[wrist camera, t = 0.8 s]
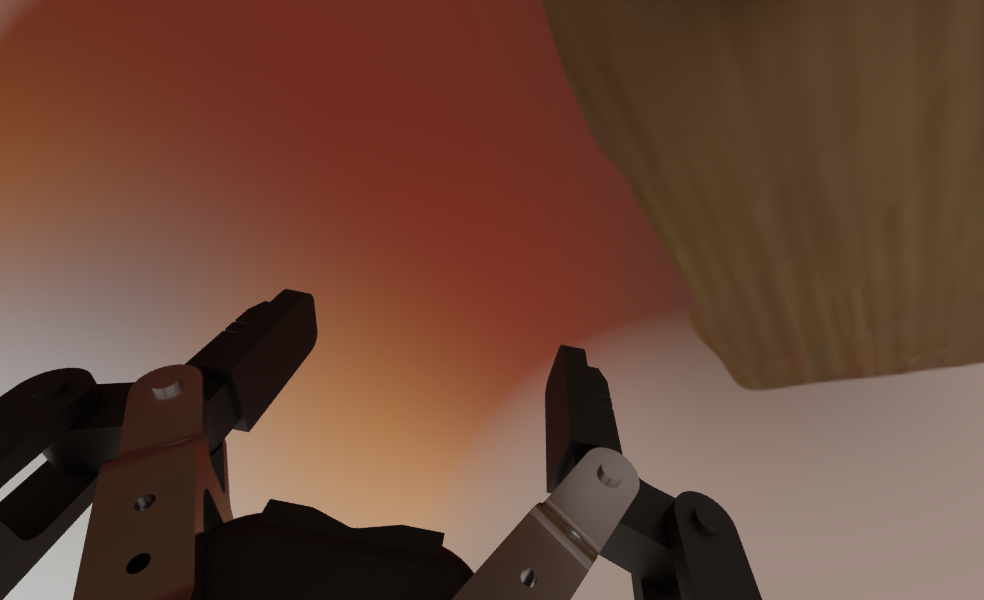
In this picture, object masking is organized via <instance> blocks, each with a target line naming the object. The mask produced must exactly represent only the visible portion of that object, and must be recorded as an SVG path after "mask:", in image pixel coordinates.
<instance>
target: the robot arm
mask: <svg viewBox="0 0 984 600" xmlns="http://www.w3.org/2000/svg"><path fill="white" fill-rule="evenodd" d="M316 339H317V323H316V314H315V306H314V298H313V296H312V295H311V294H309V293H304V292H299V291H294V290H289V289H285V290H283V291H282V292H281V293H279V294H278V295H277V296H276V297H275V298H274V299H273V300H272V301H271V302H267V301H264V302H262V303H260V304H258V305H256V306H253V307H251V308H249V309H247V310H246V311H245V312H244V313H243V314H242V315H241V316H239V317H238V318H237V319H236V321H235V322H233V323H231V324H230V325H229V326H228V327H227V328H226V329H225V331H222V332H221V333H220V334H219V335H218V336H217V337H216V338H214V339H213V340H212V341H211V342H210V343H209V344H207V345H206V346H205V347H204V348H203V349H202V350H201V351H199V352H198V353H197V354H196V355H195V356H194V357H193V358H191V359H190V360H189V361H188V362H187V363H186V364H184V365H183V364H182V365H181V364H178V365H170V366H165V367H161V368H158V369H155V370H153V371H151V372H149V373H147V374H145V375H144V376H142V377H141V378H139V379H138V380H137V381H136V382H131V383H112V384H97V383H96V382H95V380H94V378H93V376H92V375H91V373H90V372H88V371H87V370H84V369H80V368H63V369H57V370H52V371H49V372H44V373H42V374H39V375H37V376H34V377H32V378H29V379H27V380H25V381H24V382H22V383H20V384H18V385H17V386H15V387H14V388H13V389H11V390H9V391H8V392H7V393H5V394H4V395H2V396H1V397H0V488H1V487H2V486H3V485H4V484H6V483H7V482H8V481H9V480H10V479H11V478H12V477H14V476H15V475H16V474H17V473H18V472H19V471H21V470H22V469H23V468H24V467H25V466H27V465H28V464H29V463H30V462H31V461H32V460H33V459H35V458H36V457H37V456H38V455H39V454H41V453H43V455H44V456H45V457H46V458H47V459H48V460H47V461H46V462H45V463H44V464H43V465H41V466H40V467H39V468H38V469H37V470H36V471H35V472H34V473H32V474H31V475H30V476H29V477H28V478H27V479H26V480H24V481H23V482H22V483H21V484H20V485H19V486H18V487H17V488H16V489H14V490H13V491H12V492H11V493H10V494H9V495H7V496H6V497H5V498H4V499H3V500H2V501H1V502H0V600H3V599H4V598H5V596H6V595H7V594H8V593H9V592H10V591H11V590H12V589H13V588H14V587H15V586H16V585H17V583H18V582H19V581H20V580H21V579H22V578H23V577H24V576H25V575H26V574H27V573H28V572H29V571H30V570H31V568H32V567H33V566H34V565H35V564H36V563H37V562H38V561H39V560H40V559H41V558H42V556H43V555H44V554H45V553H46V552H47V551H48V550H49V549H50V548H51V547H52V546H53V545H54V544H55V542H56V541H57V540H58V539H59V538H60V537H61V536H62V535H63V534H64V533H65V532H66V530H67V529H68V528H69V527H70V526H71V525H72V524H73V523H74V522H75V521H76V520H77V519H78V518H79V517H80V515H81V514H82V513H83V512H84V511H85V510H86V509H87V508H88V507H89V506H90V505H91V503H92V502H93V504H92V509H91V514H90V519H89V524H88V529H87V533H86V539H85V543H84V549H83V553H82V558H81V563H80V567H79V572H78V577H77V582H76V587H75V592H74V597H73V600H570V599H571V598H572V596H573V595H574V593H575V592H576V590H577V588H578V587H579V585H580V584H581V582H582V580H583V579H584V577H585V576H586V574H587V573H588V571H589V569H590V568H591V566H592V565H593V563H594V562H595V560H596V558H597V556H598V554H599V555H601V556H602V557H604V558H606V559H608V560H609V561H611V562H613V563H614V564H616V565H618V566H620V567H621V568H623V569H625V570H627V571H628V572H630V573H631V576H632V583H633V591H634V599H635V600H762V598H761V595H760V592H759V590H758V587H757V584H756V582H755V579H754V576H753V573H752V571H751V568H750V565H749V562H748V560H747V557H746V554H745V551H744V549H743V546H742V543H741V541H740V538H739V535H738V532H737V530H736V527H735V525H734V523H733V521H732V520H731V518H730V516H729V515H728V514H727V512H726V511H725V510H724V509H723V508H722V507H721V506H720V505H719V504H718V503H716V502H715V501H714V500H713V499H711V498H709V497H708V496H706V495H703V494H701V493H698V492H694V491H687V492H683V493H681V494H680V495H678V496H677V498H674V497H672V496H670V495H668V494H666V493H664V492H662V491H660V490H658V489H656V488H654V487H652V486H651V485H649V484H647V483H645V482H644V481H643V480H641V479H640V478H639V477H638V474H637V472H636V470H635V468H634V467H633V465H632V464H631V463H630V462H629V461H628V459H626V458H625V457H624V456H623V454H622V450H621V445H620V440H619V436H618V431H617V426H616V422H615V417H614V412H613V410H612V403H611V398H610V393H609V388H608V383H607V381H606V379H605V378H604V376H603V375H602V373H601V372H600V370H599V369H598V368H594V367H589V366H588V365H587V359H586V353H585V350H584V349H580V348H575V347H571V346H566V345H560V347H559V349H558V352H557V355H556V358H555V360H554V363H553V366H552V369H551V372H550V375H549V377H548V381H547V385H546V392H545V415H546V416H545V418H546V468H547V469H546V472H547V493H552V494H551V495H550V496H549V497H548V498H547V499H546V500H545V501H544V502H543V503H538V504H537V505H536V506H535V507H534V508H532V509H531V511H530V512H529V513H528V514H527V515H526V516H525V517H524V518H523V520H522V521H521V522H520V523H519V524H518V525H517V526H516V527H515V529H514V530H513V531H512V532H511V533H510V534H509V535H508V536H507V538H506V539H505V540H504V541H503V542H502V543H501V544H500V545H499V547H498V548H497V549H496V550H495V551H494V552H493V554H491V556H490V557H489V558H488V559H487V560H486V561H485V562H484V564H483V565H482V566H481V567H480V568H479V569H478V570H477V571H476V573H473V571H472V570H471V569H470V567H469V566H468V565H467V564H466V563H465V562H464V561H463V560H462V559H461V558H460V557H458V556H457V555H455V554H454V553H453V552H451V551H450V550H448V549H446V548H445V547H443V546H442V544H443V539H444V533H441V532H436V531H431V530H425V529H420V528H415V527H410V526H405V525H393V526H382V527H368V528H351V527H348V526H346V525H345V524H343V523H341V522H339V521H337V520H336V519H333V518H332V517H330V516H328V515H326V514H324V513H323V512H321V511H319V510H317V509H315V508H313V507H309V506H304V505H299V504H293V503H288V502H283V501H278V500H273V499H270V500H269V502H268V503H267V505H266V507H265V508H264V510H263V512H262V513H256V514H252V515H246V516H243V517H239V518H236V519H233V515H232V511H231V506H230V497H229V480H228V462H227V445H226V441H225V437H226V436H227V435H228V434H229V432H230V431H231V430H232V429H235V430H240V431H245V432H249V431H250V430H251V429H252V428H253V426H254V425H255V424H256V422H257V421H258V420H259V418H260V417H261V416H262V415H263V413H264V412H265V411H266V409H267V408H268V407H269V405H270V404H271V403H272V401H273V400H274V399H275V398H276V396H277V395H278V394H279V392H280V391H281V390H282V389H283V387H284V386H285V385H286V383H287V382H288V381H289V379H290V378H291V377H292V376H293V374H294V373H295V372H296V370H297V369H298V368H299V366H300V365H301V364H302V362H303V361H304V360H305V359H306V357H307V356H308V354H309V353H310V352H311V351H312V349H313V347H314V345H315V343H316Z"/></svg>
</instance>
